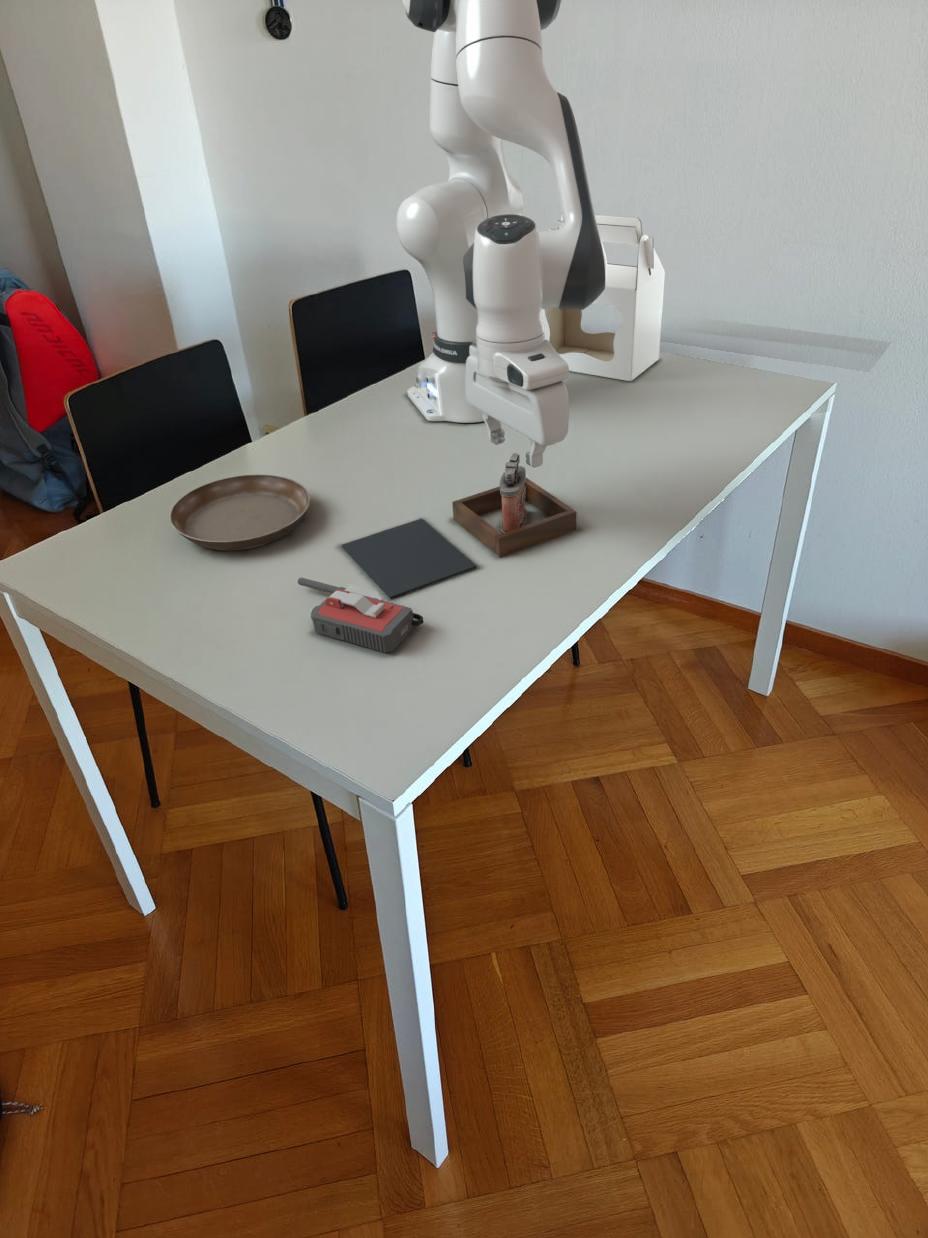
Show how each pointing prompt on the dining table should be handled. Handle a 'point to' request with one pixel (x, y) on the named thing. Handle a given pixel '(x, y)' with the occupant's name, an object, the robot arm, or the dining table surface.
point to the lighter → (513, 495)
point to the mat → (407, 558)
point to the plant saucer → (240, 511)
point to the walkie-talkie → (361, 617)
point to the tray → (520, 538)
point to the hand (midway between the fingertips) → (515, 453)
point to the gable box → (631, 295)
